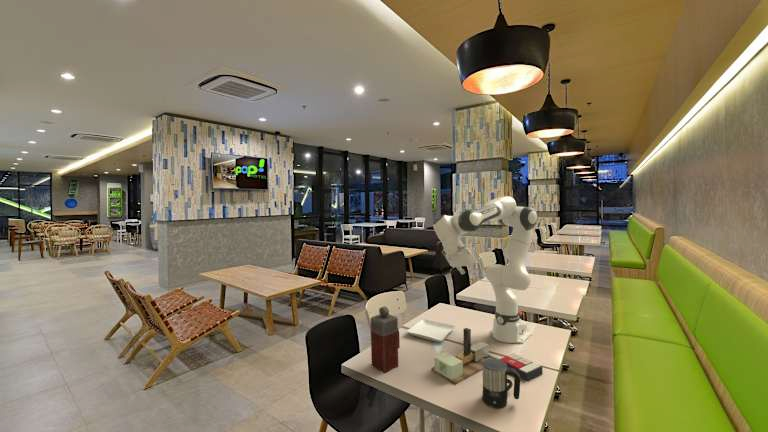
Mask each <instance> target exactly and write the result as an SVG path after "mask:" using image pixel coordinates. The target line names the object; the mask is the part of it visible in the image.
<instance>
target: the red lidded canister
mask: <svg viewBox="0 0 768 432" xmlns="http://www.w3.org/2000/svg"><path fill="white" fill-rule="evenodd" d="M389 310H390V309H389V308H388V307H387V306H385V305H384V306H381V307H379V309H378V311H379V314H377V315H374V316H372V317H371V318H370V345H371V346H370V347H371V348H370V349H371V351H370V352H371V354H370V356H371V367H372V366H373V368H374V369H376V370H377V369H378V370H377V371H379V370H380V371H379V372H381V373H382V372H383V374H387V373H388V372H390V371H392V370H394V369H396V368H398V367H399V349H400V347H401V346H400V343H401V342H400V330H399V325H398V324H399V323H398V321H399V319H398V317H397V316H395V315H392V314H391V313H389V312H390V311H389Z"/></svg>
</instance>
